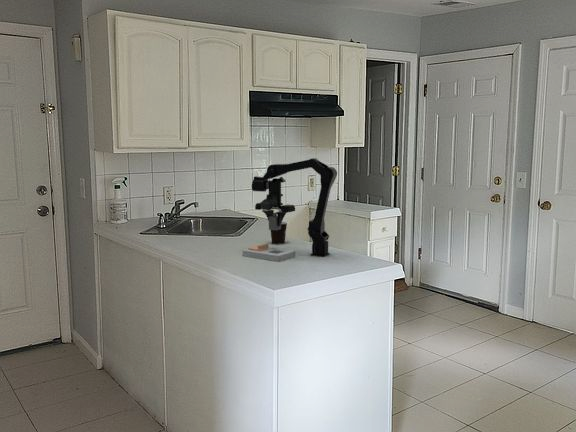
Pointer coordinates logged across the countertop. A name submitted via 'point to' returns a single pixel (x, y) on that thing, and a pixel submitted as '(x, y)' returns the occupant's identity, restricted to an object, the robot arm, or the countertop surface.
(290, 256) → the socket plate
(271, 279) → the countertop surface
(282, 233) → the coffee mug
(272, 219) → the plug
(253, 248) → the shutter
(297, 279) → the countertop surface
